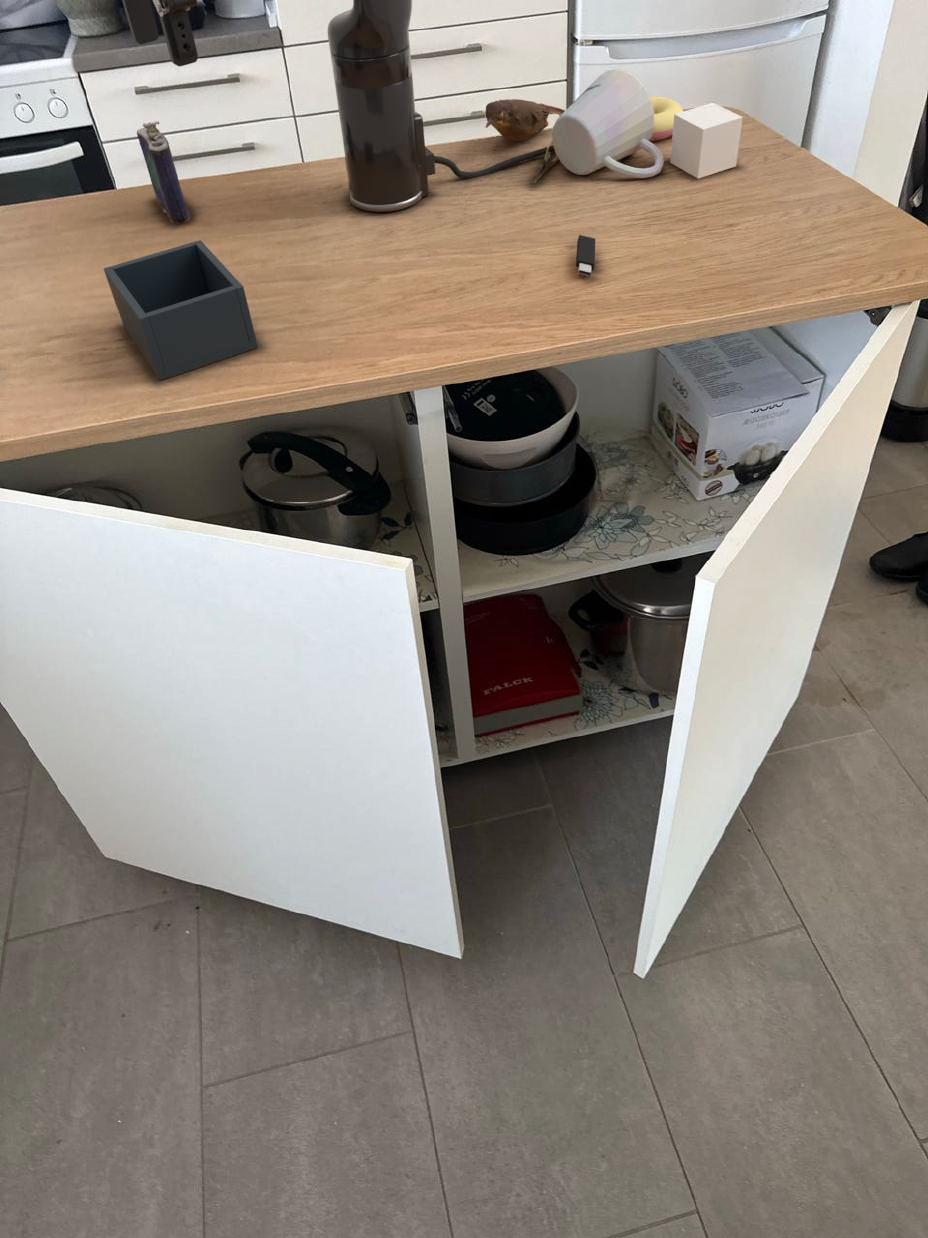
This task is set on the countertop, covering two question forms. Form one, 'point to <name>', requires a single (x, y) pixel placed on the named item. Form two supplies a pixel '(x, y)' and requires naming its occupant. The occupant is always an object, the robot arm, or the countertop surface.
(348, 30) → the robot arm
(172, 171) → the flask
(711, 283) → the countertop surface
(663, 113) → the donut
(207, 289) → the box
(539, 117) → the bird sculpture
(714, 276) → the countertop surface
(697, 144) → the white cube
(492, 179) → the countertop surface
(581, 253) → the usb flash drive
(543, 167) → the brown clothespin
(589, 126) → the mug
